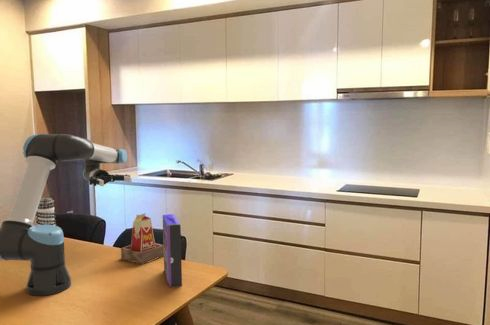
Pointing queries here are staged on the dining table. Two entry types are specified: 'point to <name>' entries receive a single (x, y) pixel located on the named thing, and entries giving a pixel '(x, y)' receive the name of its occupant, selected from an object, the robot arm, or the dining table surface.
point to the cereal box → (172, 250)
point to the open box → (142, 254)
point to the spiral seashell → (46, 212)
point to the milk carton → (142, 234)
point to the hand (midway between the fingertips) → (117, 181)
